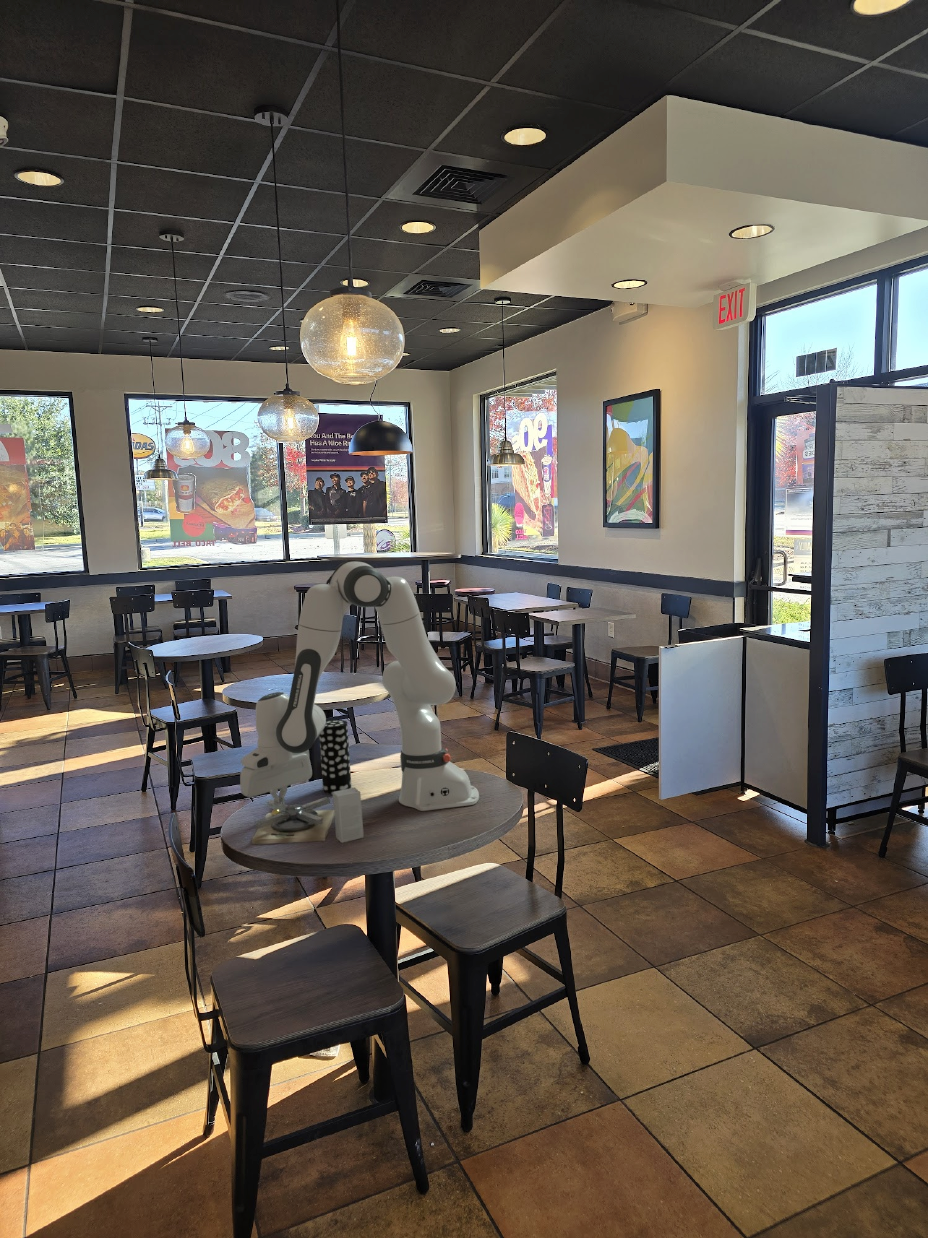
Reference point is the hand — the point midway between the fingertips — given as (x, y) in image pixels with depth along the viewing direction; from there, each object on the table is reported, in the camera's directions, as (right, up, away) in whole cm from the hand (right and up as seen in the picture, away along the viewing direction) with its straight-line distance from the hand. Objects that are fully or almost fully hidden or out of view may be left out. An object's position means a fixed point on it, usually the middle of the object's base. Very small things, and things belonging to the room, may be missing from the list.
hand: (279, 803), depth 213 cm
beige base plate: (+6, -5, -7) cm, 10 cm away
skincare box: (+21, -5, -15) cm, 26 cm away
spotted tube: (+12, -1, +22) cm, 25 cm away
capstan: (+6, -3, -7) cm, 10 cm away
